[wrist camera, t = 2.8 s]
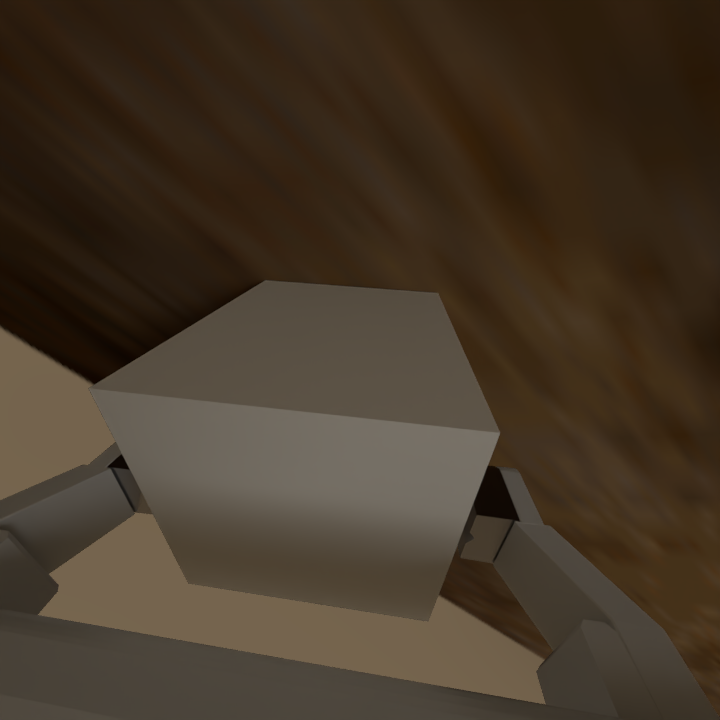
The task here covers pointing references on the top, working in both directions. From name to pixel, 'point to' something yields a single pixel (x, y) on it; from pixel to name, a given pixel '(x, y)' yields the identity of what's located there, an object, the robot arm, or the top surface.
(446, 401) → the grey matte cube
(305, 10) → the top surface
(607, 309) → the top surface
